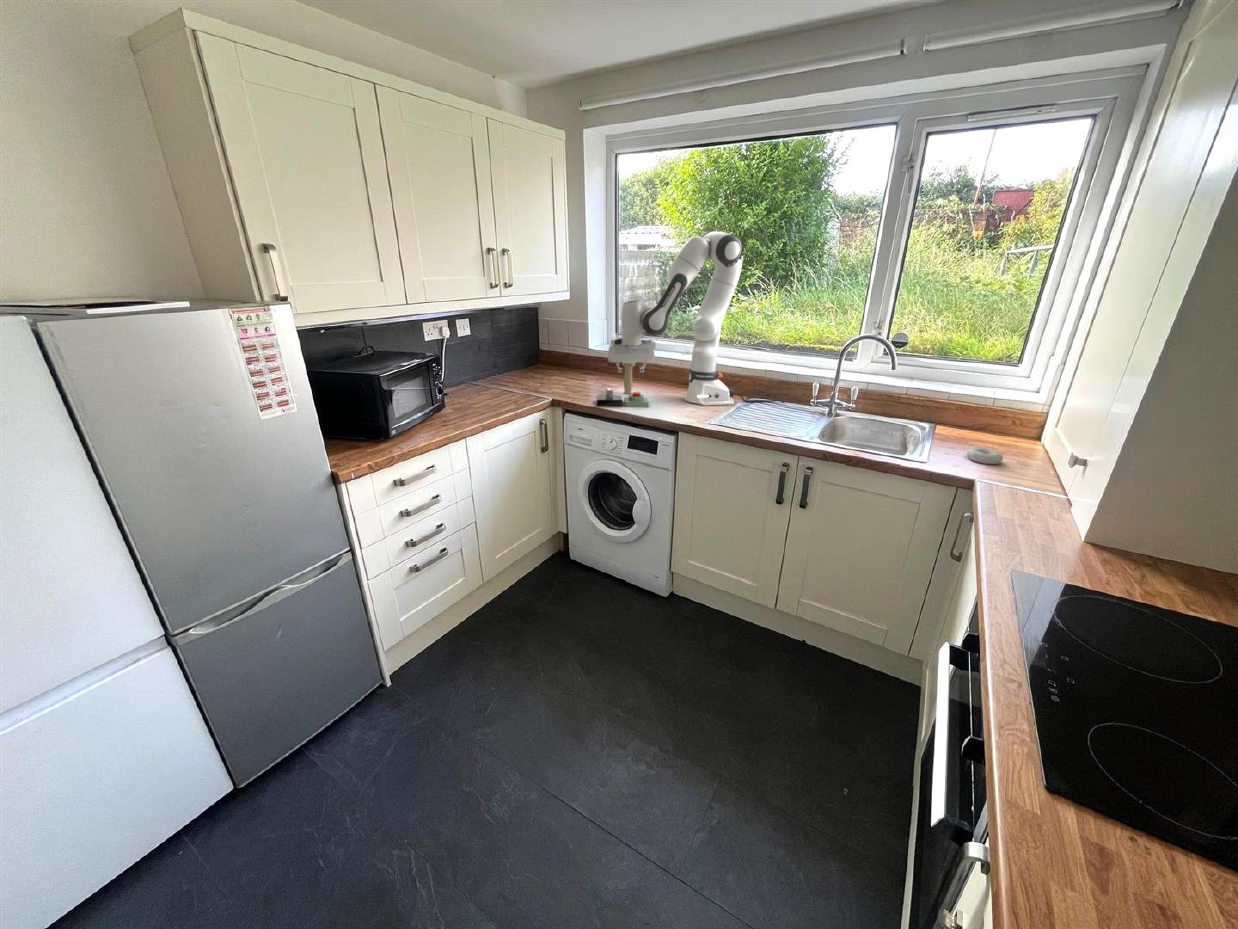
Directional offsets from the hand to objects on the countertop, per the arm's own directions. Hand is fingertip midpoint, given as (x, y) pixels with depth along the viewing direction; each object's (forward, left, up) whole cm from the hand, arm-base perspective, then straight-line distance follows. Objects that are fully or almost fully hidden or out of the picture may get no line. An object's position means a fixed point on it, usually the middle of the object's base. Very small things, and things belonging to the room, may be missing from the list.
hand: (631, 372), depth 217 cm
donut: (-114, +67, -14) cm, 133 cm away
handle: (-1, -21, -14) cm, 25 cm away
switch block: (-3, 0, -14) cm, 15 cm away
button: (-3, 0, -11) cm, 11 cm away
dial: (+9, 0, -11) cm, 14 cm away
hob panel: (+9, 0, -14) cm, 17 cm away
